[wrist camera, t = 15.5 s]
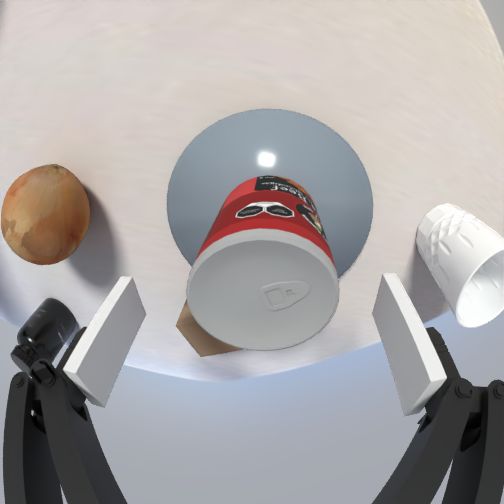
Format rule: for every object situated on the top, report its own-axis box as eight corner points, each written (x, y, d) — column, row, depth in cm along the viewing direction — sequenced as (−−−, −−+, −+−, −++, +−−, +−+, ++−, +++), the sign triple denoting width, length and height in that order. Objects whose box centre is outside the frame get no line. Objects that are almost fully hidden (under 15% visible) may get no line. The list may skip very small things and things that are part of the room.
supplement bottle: (84, 326, 36) (48, 384, 25) (62, 330, 38) (30, 381, 27) (57, 292, 33) (14, 348, 22) (39, 299, 34) (0, 349, 24)
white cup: (396, 240, 24) (440, 307, 16) (444, 181, 21) (509, 227, 12) (435, 276, 26) (474, 338, 18) (478, 226, 22) (531, 277, 14)
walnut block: (209, 325, 32) (200, 357, 28) (188, 294, 30) (175, 325, 26) (247, 315, 31) (243, 349, 27) (228, 282, 29) (219, 315, 24)
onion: (48, 227, 27) (-4, 271, 19) (43, 149, 22) (-23, 180, 14) (107, 245, 28) (57, 302, 19) (108, 158, 23) (37, 194, 14)
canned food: (333, 222, 23) (366, 309, 13) (262, 271, 26) (252, 368, 16) (275, 151, 20) (275, 197, 11) (203, 212, 23) (156, 293, 14)
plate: (189, 291, 30) (185, 299, 29) (159, 120, 21) (152, 121, 20) (355, 291, 28) (358, 299, 27) (374, 112, 19) (379, 113, 18)
